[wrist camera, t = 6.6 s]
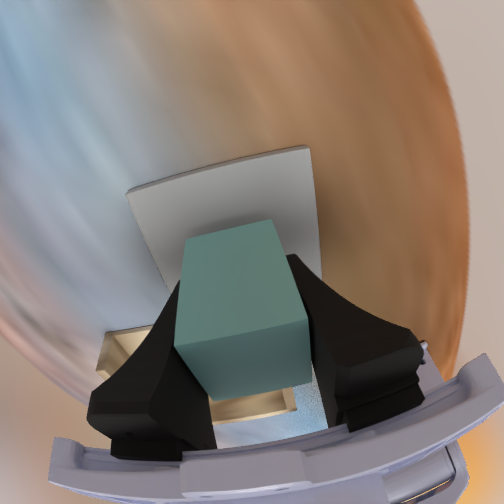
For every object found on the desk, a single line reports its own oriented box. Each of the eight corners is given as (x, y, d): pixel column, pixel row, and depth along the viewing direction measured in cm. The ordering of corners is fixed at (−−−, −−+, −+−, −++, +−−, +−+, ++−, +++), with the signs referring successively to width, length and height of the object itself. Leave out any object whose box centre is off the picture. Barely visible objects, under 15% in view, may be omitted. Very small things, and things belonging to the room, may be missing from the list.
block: (271, 218, 13) (307, 318, 8) (283, 284, 15) (312, 381, 10) (185, 239, 13) (173, 345, 8) (210, 300, 15) (213, 401, 10)
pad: (305, 145, 13) (309, 148, 12) (319, 283, 18) (322, 289, 18) (128, 190, 13) (125, 194, 13) (185, 313, 18) (184, 320, 18)
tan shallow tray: (272, 300, 18) (283, 342, 16) (289, 378, 25) (297, 410, 22) (105, 332, 19) (95, 370, 16) (164, 398, 25) (162, 428, 22)
